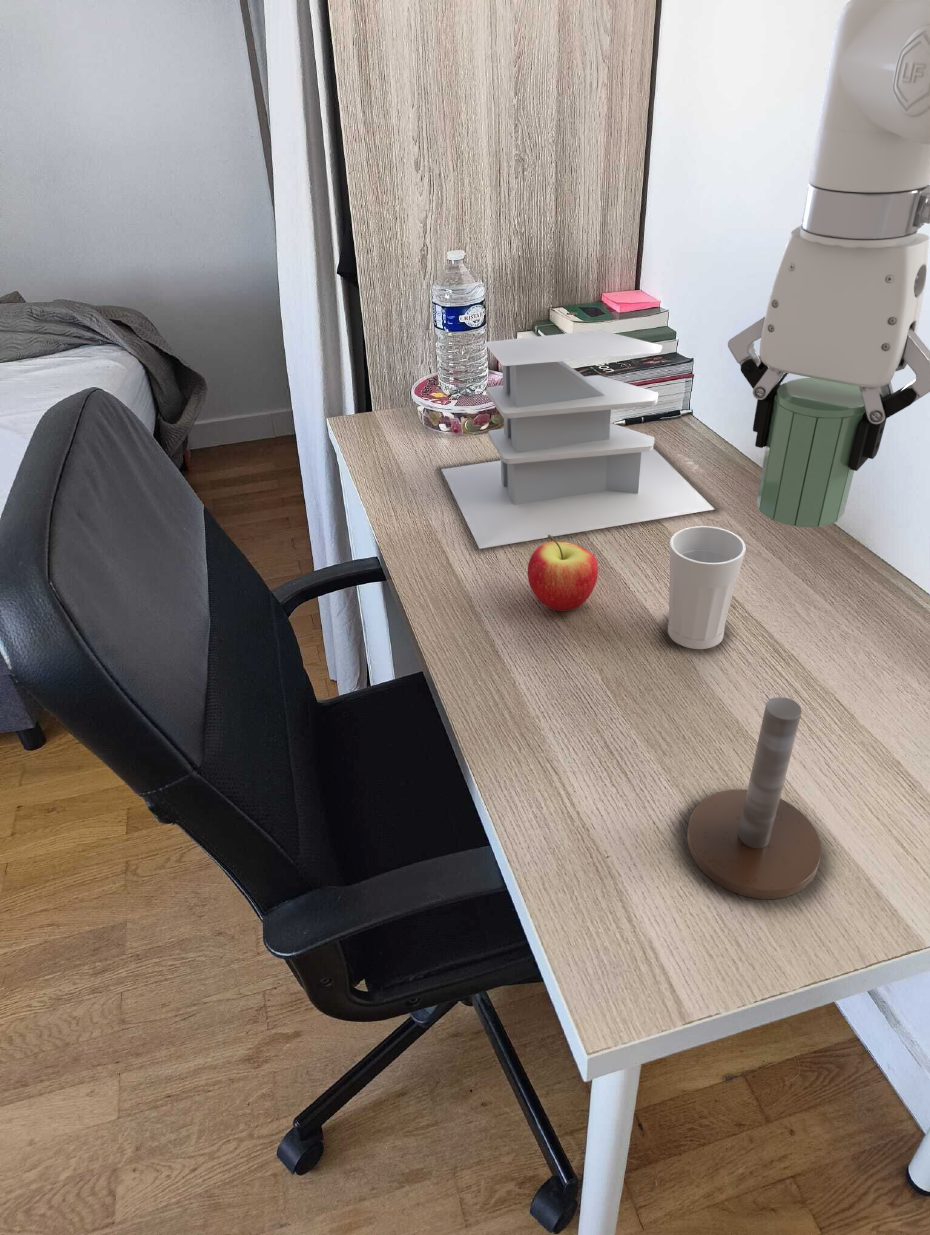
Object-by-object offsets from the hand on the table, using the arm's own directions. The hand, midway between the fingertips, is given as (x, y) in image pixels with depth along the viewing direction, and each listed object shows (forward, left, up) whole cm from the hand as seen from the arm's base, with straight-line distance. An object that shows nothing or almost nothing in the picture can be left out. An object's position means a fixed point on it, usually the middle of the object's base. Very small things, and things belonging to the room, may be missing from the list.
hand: (811, 450), depth 68 cm
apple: (+28, -6, -30) cm, 42 cm away
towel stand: (-6, +15, -30) cm, 34 cm away
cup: (+12, -10, -30) cm, 34 cm away
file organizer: (+44, -32, -30) cm, 62 cm away
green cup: (0, 0, -5) cm, 5 cm away
